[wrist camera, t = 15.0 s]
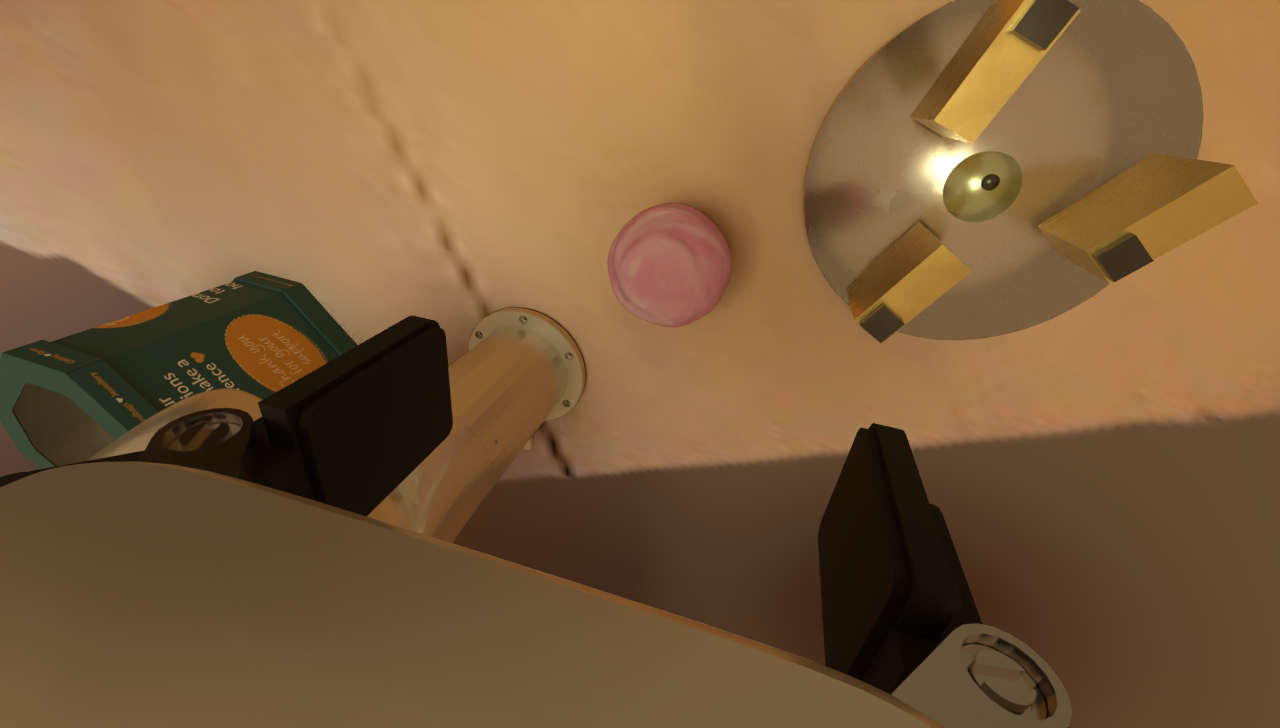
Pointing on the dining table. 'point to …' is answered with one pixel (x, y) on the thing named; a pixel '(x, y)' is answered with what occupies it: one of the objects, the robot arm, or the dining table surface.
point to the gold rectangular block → (992, 65)
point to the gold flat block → (1146, 213)
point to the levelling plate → (996, 160)
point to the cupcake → (669, 265)
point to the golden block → (903, 282)
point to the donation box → (161, 364)
